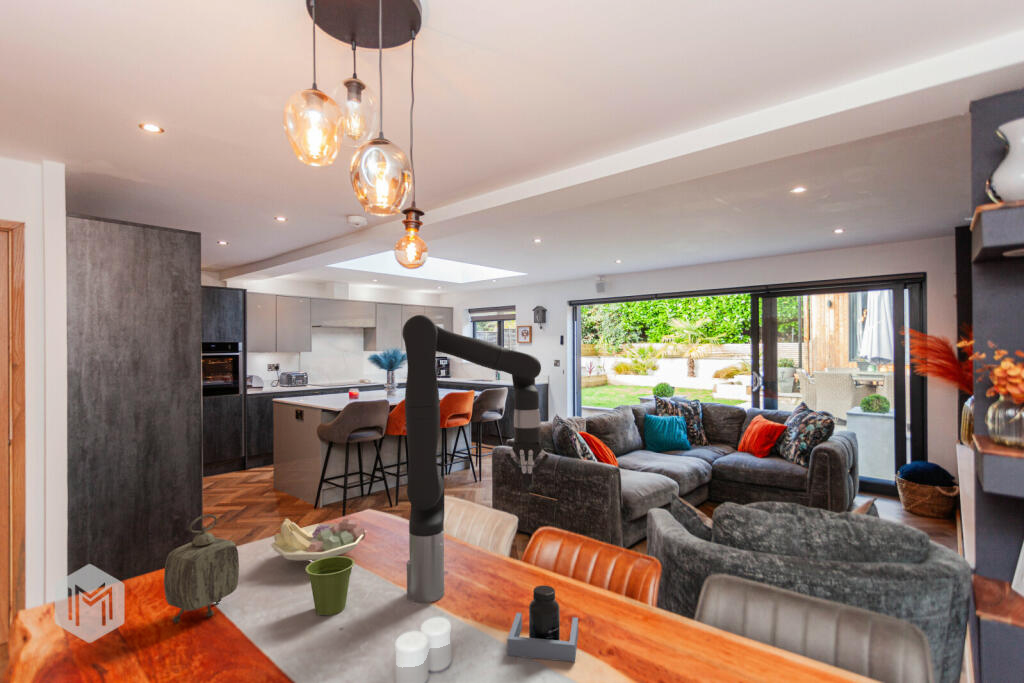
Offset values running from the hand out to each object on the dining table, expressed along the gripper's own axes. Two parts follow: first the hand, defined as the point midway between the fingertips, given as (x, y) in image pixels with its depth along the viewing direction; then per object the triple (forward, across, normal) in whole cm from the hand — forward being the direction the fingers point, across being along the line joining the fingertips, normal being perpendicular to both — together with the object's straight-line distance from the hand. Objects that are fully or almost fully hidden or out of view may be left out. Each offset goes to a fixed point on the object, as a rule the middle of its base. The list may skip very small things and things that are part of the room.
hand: (527, 486), depth 145 cm
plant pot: (+27, -48, -23) cm, 60 cm away
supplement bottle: (+27, +8, -30) cm, 41 cm away
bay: (+27, +8, -29) cm, 40 cm away
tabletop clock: (+27, -78, -31) cm, 88 cm away
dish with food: (+27, -68, +5) cm, 74 cm away
